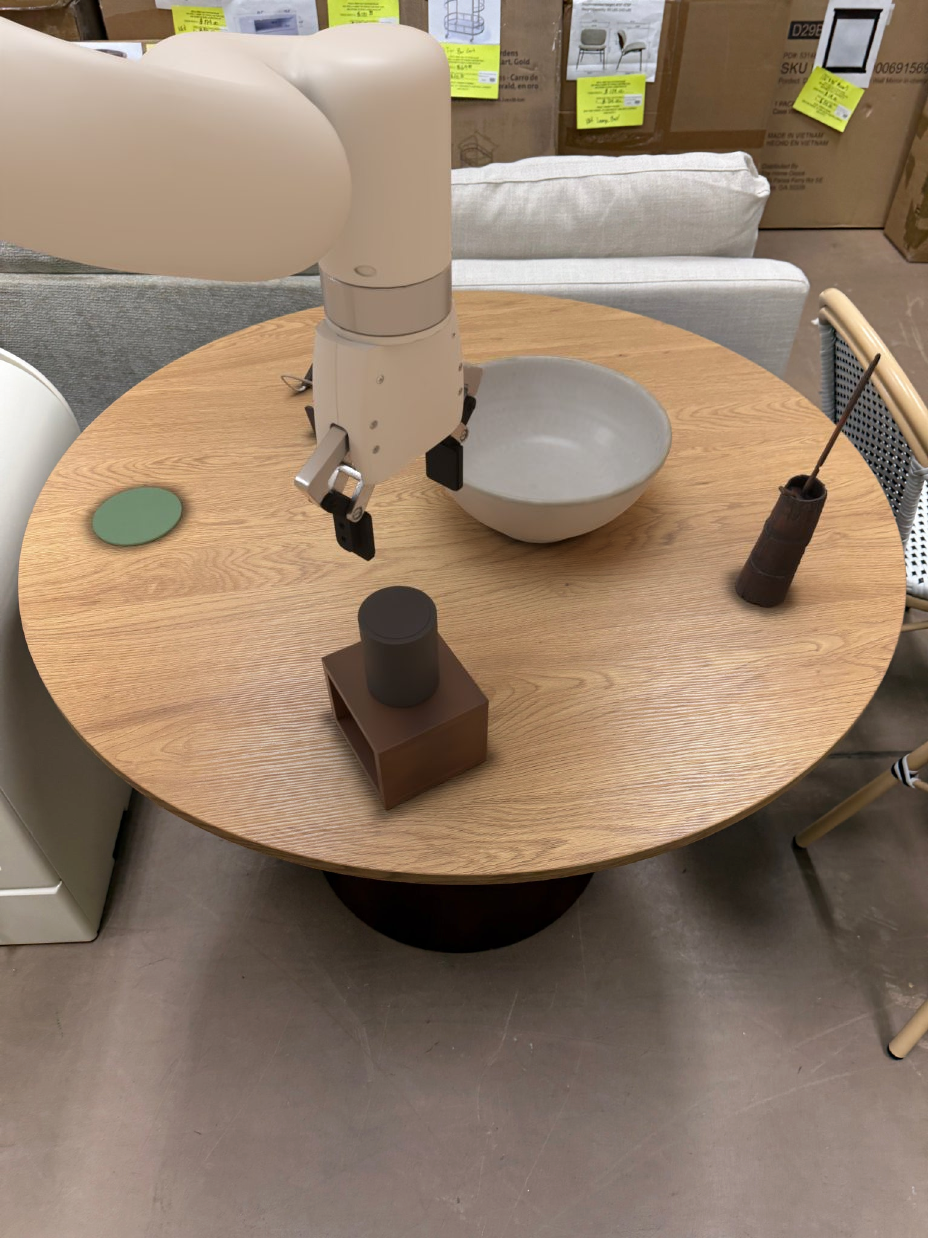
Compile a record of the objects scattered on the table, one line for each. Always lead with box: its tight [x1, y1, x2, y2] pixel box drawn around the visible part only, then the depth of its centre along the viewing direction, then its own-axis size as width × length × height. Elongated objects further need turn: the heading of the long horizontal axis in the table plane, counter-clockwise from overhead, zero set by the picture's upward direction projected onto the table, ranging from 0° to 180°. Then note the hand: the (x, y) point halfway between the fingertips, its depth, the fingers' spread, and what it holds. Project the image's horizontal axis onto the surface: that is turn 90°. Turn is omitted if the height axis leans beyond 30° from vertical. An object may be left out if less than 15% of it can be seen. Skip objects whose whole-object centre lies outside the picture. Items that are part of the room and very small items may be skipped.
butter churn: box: [734, 352, 882, 608], centre depth 76 cm, size 9×10×28 cm
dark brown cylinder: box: [357, 585, 439, 708], centre depth 64 cm, size 6×6×8 cm
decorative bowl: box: [442, 354, 673, 544], centre depth 91 cm, size 27×27×12 cm
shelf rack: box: [320, 632, 490, 811], centre depth 71 cm, size 10×11×9 cm
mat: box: [91, 486, 183, 547], centre depth 94 cm, size 10×10×1 cm
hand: (402, 515), depth 60 cm, fingers open, 9 cm apart
